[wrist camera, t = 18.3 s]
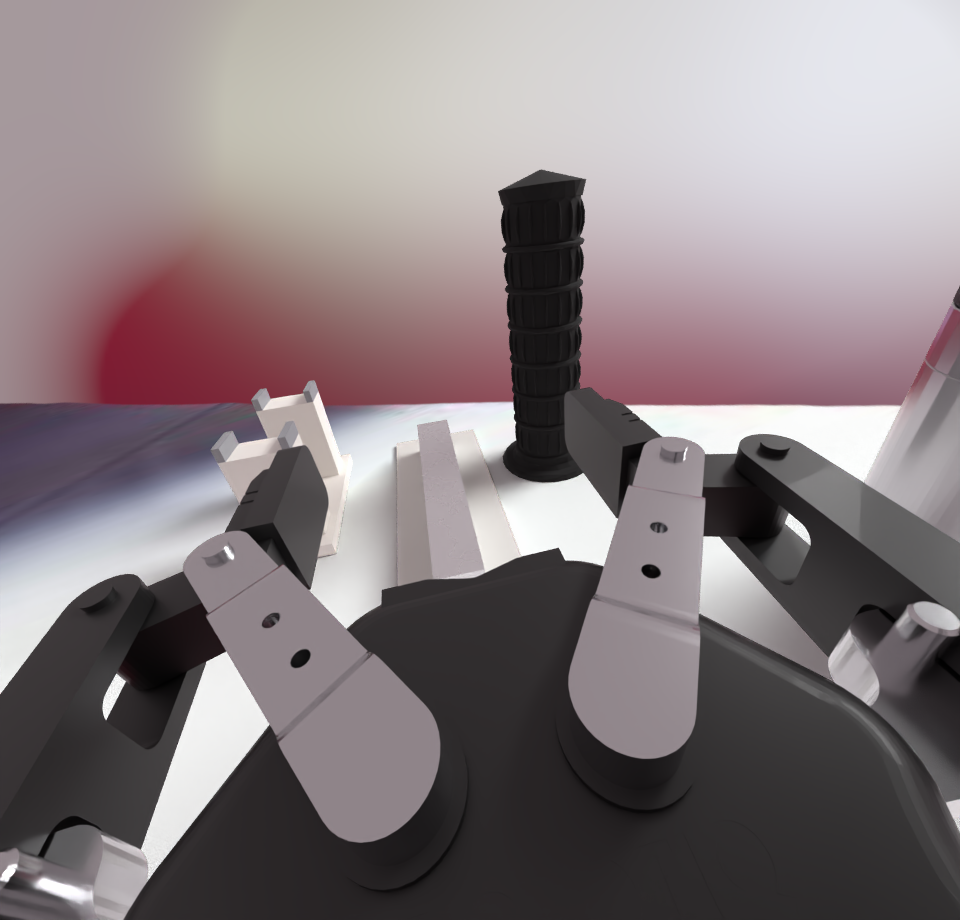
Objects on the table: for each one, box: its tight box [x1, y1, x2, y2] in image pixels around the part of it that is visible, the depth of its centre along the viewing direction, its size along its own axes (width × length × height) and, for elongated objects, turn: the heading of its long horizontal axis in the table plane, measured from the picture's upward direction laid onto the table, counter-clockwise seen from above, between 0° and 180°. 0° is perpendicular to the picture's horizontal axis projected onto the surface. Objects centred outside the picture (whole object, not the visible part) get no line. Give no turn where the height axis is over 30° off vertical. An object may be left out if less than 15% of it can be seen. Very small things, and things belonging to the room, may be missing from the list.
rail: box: [417, 420, 485, 579], centre depth 37 cm, size 24×4×4 cm, turn 10°
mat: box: [397, 430, 522, 586], centre depth 39 cm, size 10×28×1 cm, turn 10°
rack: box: [211, 381, 353, 558], centre depth 39 cm, size 7×16×11 cm, turn 10°
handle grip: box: [498, 170, 586, 482], centre depth 38 cm, size 10×26×10 cm
